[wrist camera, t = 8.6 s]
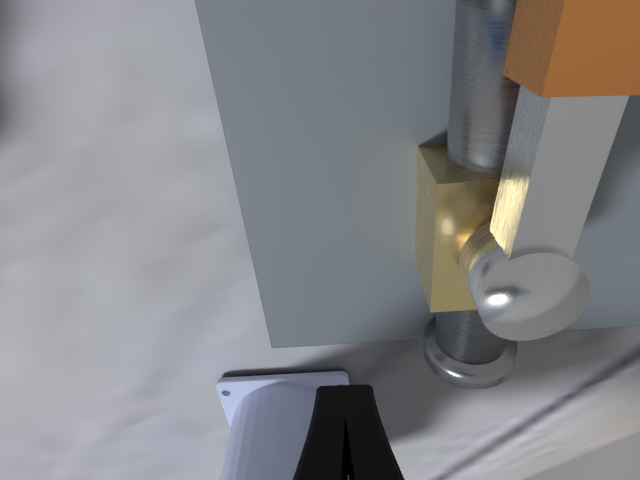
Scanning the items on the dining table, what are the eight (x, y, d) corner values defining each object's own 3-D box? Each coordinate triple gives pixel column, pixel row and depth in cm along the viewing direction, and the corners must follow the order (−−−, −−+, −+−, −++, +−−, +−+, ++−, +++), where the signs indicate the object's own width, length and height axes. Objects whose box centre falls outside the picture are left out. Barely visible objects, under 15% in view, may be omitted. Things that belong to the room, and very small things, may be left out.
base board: (643, 312, 23) (654, 325, 22) (273, 335, 24) (271, 348, 23) (819, -123, 13) (852, -129, 12) (191, -47, 15) (183, -49, 14)
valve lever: (539, 290, 16) (572, 340, 14) (452, 292, 16) (472, 341, 14) (676, -141, 9) (780, -173, 7) (529, -135, 9) (587, -165, 7)
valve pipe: (501, 327, 23) (533, 393, 19) (411, 333, 23) (426, 398, 20) (575, -94, 13) (665, -117, 10) (420, -76, 14) (453, -92, 10)
